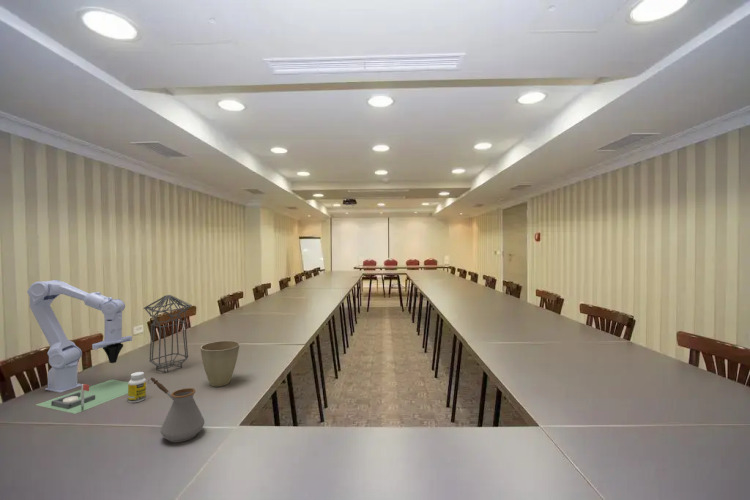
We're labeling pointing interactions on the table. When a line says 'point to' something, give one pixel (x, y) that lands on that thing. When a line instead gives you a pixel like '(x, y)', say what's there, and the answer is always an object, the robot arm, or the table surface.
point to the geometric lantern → (163, 299)
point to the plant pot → (219, 361)
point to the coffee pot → (181, 415)
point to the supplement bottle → (137, 387)
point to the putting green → (101, 392)
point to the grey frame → (80, 402)
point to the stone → (70, 399)
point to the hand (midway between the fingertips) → (112, 362)
